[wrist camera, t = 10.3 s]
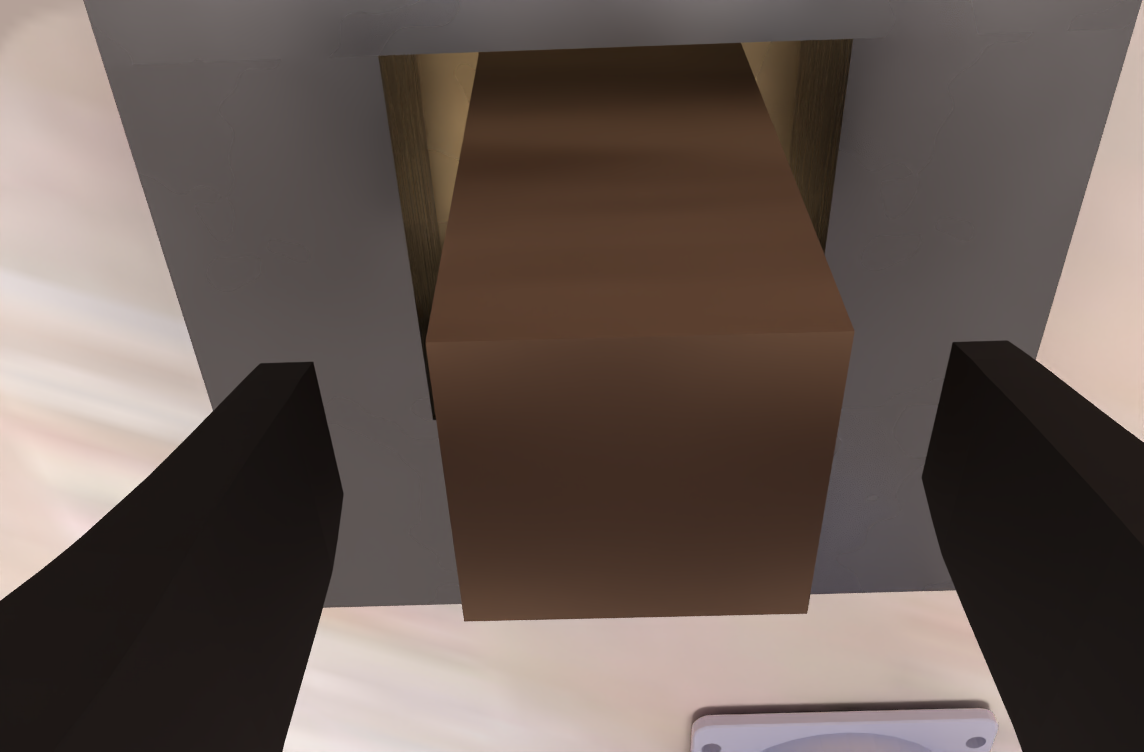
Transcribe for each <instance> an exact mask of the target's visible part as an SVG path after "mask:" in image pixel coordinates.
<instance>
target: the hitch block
mask: <svg viewBox="0 0 1144 752" xmlns="http://www.w3.org/2000/svg"><path fill="white" fill-rule="evenodd" d="M83 1H84V4H85V7H86V10H87V13H88V16H89V20H90V23H91V26H92V29H93V32H94V35H95V39H96V42H97V45H98V48H99V51H100V54H101V57H102V61H103V64H104V67H105V70H106V73H107V76H108V80H109V83H110V86H111V89H112V92H113V95H114V99H115V102H116V105H117V108H118V111H119V114H120V118H121V121H122V124H123V127H124V130H125V133H126V137H127V140H128V143H129V146H130V149H131V152H132V156H133V159H134V162H135V165H136V168H137V171H138V174H139V178H140V181H141V184H142V187H143V190H144V193H145V197H146V200H147V203H148V206H149V209H150V212H151V216H152V219H153V222H154V225H155V228H156V231H157V235H158V238H159V241H160V244H161V247H162V250H163V254H164V257H165V260H166V263H167V266H168V269H169V272H170V276H171V279H172V282H173V285H174V288H175V291H176V295H177V298H178V301H179V304H180V307H181V310H182V314H183V317H184V320H185V323H186V326H187V329H188V333H189V336H190V339H191V342H192V345H193V348H194V352H195V355H196V358H197V361H198V364H199V367H200V371H201V374H202V377H203V380H204V383H205V386H206V389H207V393H208V396H209V399H210V402H211V405H212V408H213V411H214V410H215V409H216V407H217V406H218V405H219V404H220V403H221V402H222V401H223V400H224V399H225V398H226V397H227V396H228V395H229V394H230V393H231V392H232V391H233V390H234V389H235V388H236V387H237V386H238V385H239V384H240V383H241V382H242V381H243V380H244V379H245V378H246V377H247V376H248V375H249V374H250V373H251V372H252V371H253V370H254V369H255V368H256V367H257V366H258V365H259V364H260V363H283V362H314V367H315V371H316V376H317V380H318V384H319V389H320V393H321V397H322V402H323V406H324V410H325V415H326V419H327V423H328V428H329V432H330V436H331V441H332V445H333V449H334V454H335V458H336V462H337V467H338V471H339V475H340V480H341V484H342V489H343V493H344V496H343V504H342V511H341V519H340V526H339V534H338V541H337V547H336V554H335V560H334V566H333V572H332V576H331V580H330V583H329V587H328V591H327V595H326V598H325V602H324V605H323V608H327V607H363V606H399V605H436V604H462V602H461V594H460V587H459V580H458V573H457V566H456V559H455V551H454V544H453V537H452V530H451V523H450V516H449V508H448V501H447V494H446V487H445V480H444V473H443V465H442V458H441V451H440V444H439V437H438V430H437V422H436V415H435V408H434V401H433V394H432V387H431V379H430V372H429V365H428V358H427V351H426V344H425V342H426V336H427V331H428V326H429V320H430V315H431V309H432V304H433V299H434V293H435V288H436V282H437V277H438V272H439V266H440V261H441V255H442V250H443V245H444V239H445V234H446V228H447V223H448V218H449V212H450V207H451V201H452V196H453V191H454V185H455V180H456V174H457V169H458V164H459V158H460V153H461V147H462V142H463V137H464V131H465V126H466V120H467V115H468V110H469V104H470V99H471V93H472V88H473V83H474V77H475V72H476V66H477V61H478V56H479V52H496V51H523V50H551V49H579V48H607V47H635V46H663V45H690V44H718V43H741V44H742V47H743V49H744V52H745V55H746V57H747V60H748V62H749V65H750V67H751V70H752V72H753V75H754V77H755V80H756V82H757V85H758V87H759V90H760V93H761V95H762V98H763V100H764V103H765V105H766V108H767V110H768V113H769V115H770V118H771V120H772V123H773V126H774V128H775V131H776V133H777V136H778V138H779V141H780V143H781V146H782V148H783V151H784V153H785V156H786V158H787V161H788V164H789V166H790V169H791V171H792V174H793V176H794V179H795V181H796V184H797V186H798V189H799V191H800V194H801V197H802V199H803V202H804V204H805V207H806V209H807V212H808V214H809V217H810V219H811V222H812V224H813V227H814V229H815V232H816V235H817V237H818V240H819V242H820V245H821V247H822V250H823V252H824V255H825V257H826V260H827V262H828V265H829V268H830V270H831V273H832V275H833V278H834V280H835V283H836V285H837V288H838V290H839V293H840V295H841V298H842V300H843V303H844V306H845V308H846V311H847V313H848V316H849V318H850V321H851V323H852V326H853V328H854V331H855V332H854V338H853V344H852V350H851V356H850V362H849V368H848V374H847V380H846V386H845V391H844V397H843V403H842V409H841V415H840V421H839V427H838V433H837V439H836V445H835V451H834V457H833V463H832V468H831V474H830V480H829V486H828V492H827V498H826V504H825V510H824V516H823V522H822V528H821V534H820V540H819V545H818V551H817V557H816V563H815V569H814V575H813V581H812V587H811V593H810V594H836V593H872V592H908V591H945V590H956V589H955V587H954V584H953V582H952V579H951V577H950V575H949V572H948V570H947V567H946V565H945V562H944V560H943V557H942V554H941V551H940V547H939V544H938V540H937V536H936V533H935V529H934V526H933V522H932V518H931V514H930V510H929V506H928V502H927V498H926V494H925V490H924V486H923V482H922V478H921V477H922V473H923V469H924V464H925V460H926V456H927V451H928V447H929V443H930V438H931V434H932V430H933V425H934V421H935V417H936V412H937V408H938V404H939V399H940V395H941V391H942V386H943V382H944V378H945V373H946V369H947V365H948V360H949V356H950V352H951V347H952V343H953V342H969V341H1002V340H1008V341H1009V342H1011V343H1012V344H1014V345H1015V346H1017V347H1018V348H1020V349H1021V350H1022V351H1024V352H1025V353H1027V354H1028V355H1029V356H1031V357H1032V358H1033V359H1035V360H1036V357H1037V353H1038V350H1039V346H1040V343H1041V340H1042V336H1043V333H1044V330H1045V326H1046V323H1047V319H1048V316H1049V313H1050V309H1051V306H1052V303H1053V299H1054V296H1055V292H1056V289H1057V286H1058V282H1059V279H1060V276H1061V272H1062V269H1063V265H1064V262H1065V259H1066V255H1067V252H1068V249H1069V245H1070V242H1071V238H1072V235H1073V232H1074V228H1075V225H1076V222H1077V218H1078V215H1079V211H1080V208H1081V205H1082V201H1083V198H1084V195H1085V191H1086V188H1087V184H1088V181H1089V178H1090V174H1091V171H1092V168H1093V164H1094V161H1095V157H1096V154H1097V151H1098V147H1099V144H1100V141H1101V137H1102V134H1103V130H1104V127H1105V124H1106V120H1107V117H1108V114H1109V110H1110V107H1111V103H1112V100H1113V97H1114V93H1115V90H1116V87H1117V83H1118V80H1119V76H1120V73H1121V70H1122V66H1123V63H1124V60H1125V56H1126V53H1127V49H1128V46H1129V43H1130V39H1131V36H1132V33H1133V29H1134V26H1135V22H1136V19H1137V16H1138V12H1139V9H1140V6H1141V2H1142V0H83Z"/></svg>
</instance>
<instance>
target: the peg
mask: <svg viewBox="0 0 1144 752" xmlns="http://www.w3.org/2000/svg"><path fill="white" fill-rule="evenodd" d="M854 332H855V331H854V328H853V326H852V323H851V321H850V318H849V316H848V313H847V311H846V308H845V306H844V303H843V300H842V298H841V295H840V293H839V290H838V288H837V285H836V283H835V280H834V278H833V275H832V273H831V270H830V268H829V265H828V262H827V260H826V257H825V255H824V252H823V250H822V247H821V245H820V242H819V240H818V237H817V235H816V232H815V229H814V227H813V224H812V222H811V219H810V217H809V214H808V212H807V209H806V207H805V204H804V202H803V199H802V197H801V194H800V191H799V189H798V186H797V184H796V181H795V179H794V176H793V174H792V171H791V169H790V166H789V164H788V161H787V158H786V156H785V153H784V151H783V148H782V146H781V143H780V141H779V138H778V136H777V133H776V131H775V128H774V126H773V123H772V120H771V118H770V115H769V113H768V110H767V108H766V105H765V103H764V100H763V98H762V95H761V93H760V90H759V87H758V85H757V82H756V80H755V77H754V75H753V72H752V70H751V67H750V65H749V62H748V60H747V57H746V55H745V52H744V49H743V47H742V44H741V43H718V44H690V45H663V46H635V47H607V48H579V49H551V50H523V51H496V52H479V56H478V61H477V66H476V72H475V77H474V83H473V88H472V93H471V99H470V104H469V110H468V115H467V120H466V126H465V131H464V137H463V142H462V147H461V153H460V158H459V164H458V169H457V174H456V180H455V185H454V191H453V196H452V201H451V207H450V212H449V218H448V223H447V228H446V234H445V239H444V245H443V250H442V255H441V261H440V266H439V272H438V277H437V282H436V288H435V293H434V299H433V304H432V309H431V315H430V320H429V326H428V331H427V336H426V342H425V344H426V351H427V358H428V365H429V372H430V379H431V387H432V394H433V401H434V408H435V415H436V422H437V430H438V437H439V444H440V451H441V458H442V465H443V473H444V480H445V487H446V494H447V501H448V508H449V516H450V523H451V530H452V537H453V544H454V551H455V559H456V566H457V573H458V580H459V587H460V594H461V602H462V609H463V616H464V621H502V620H546V619H590V618H633V617H677V616H721V615H764V614H807V611H808V605H809V599H810V593H811V587H812V581H813V575H814V569H815V563H816V557H817V551H818V545H819V540H820V534H821V528H822V522H823V516H824V510H825V504H826V498H827V492H828V486H829V480H830V474H831V468H832V463H833V457H834V451H835V445H836V439H837V433H838V427H839V421H840V415H841V409H842V403H843V397H844V391H845V386H846V380H847V374H848V368H849V362H850V356H851V350H852V344H853V338H854Z"/></svg>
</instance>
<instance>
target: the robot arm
mask: <svg viewBox="0 0 1144 752" xmlns="http://www.w3.org/2000/svg"><path fill="white" fill-rule="evenodd" d="M921 478H922V482H923V486H924V490H925V494H926V498H927V502H928V506H929V510H930V514H931V518H932V522H933V526H934V529H935V533H936V536H937V540H938V544H939V547H940V551H941V554H942V557H943V560H944V562H945V565H946V567H947V570H948V572H949V575H950V577H951V579H952V582H953V584H954V587H955V589H956V591H957V594H958V596H959V599H960V601H961V604H962V606H963V608H964V611H965V613H966V616H967V618H968V620H969V623H970V625H971V627H972V630H973V632H974V635H975V637H976V639H977V642H978V644H979V646H980V649H981V651H982V653H983V656H984V658H985V660H986V663H987V665H988V668H989V670H990V672H991V675H992V677H993V679H994V682H995V684H996V686H997V689H998V691H999V694H1000V696H1001V698H1002V701H1003V703H1004V705H1005V708H1006V710H1007V712H1008V715H1009V717H1010V720H1011V722H1012V724H1013V727H1014V729H1015V732H1016V735H1017V738H1018V740H1019V743H1020V746H1021V748H1022V751H1023V752H1144V442H1142V441H1141V440H1140V439H1138V438H1137V437H1135V436H1134V435H1133V434H1131V433H1130V432H1129V431H1127V430H1126V429H1125V428H1123V427H1122V426H1121V425H1119V424H1118V423H1117V422H1115V421H1114V420H1113V419H1112V418H1110V417H1109V416H1108V415H1106V414H1105V413H1104V412H1102V411H1101V410H1100V409H1098V408H1097V407H1096V406H1095V405H1093V404H1092V403H1091V402H1089V401H1088V400H1087V399H1085V398H1084V397H1083V396H1082V395H1080V394H1079V393H1078V392H1076V391H1075V390H1074V389H1072V388H1071V387H1070V386H1069V385H1067V384H1066V383H1065V382H1063V381H1062V380H1061V379H1060V378H1058V377H1057V376H1056V375H1054V374H1053V373H1052V372H1050V371H1049V370H1048V369H1047V368H1045V367H1044V366H1043V365H1041V364H1040V363H1039V362H1037V361H1036V360H1035V359H1033V358H1032V357H1031V356H1029V355H1028V354H1027V353H1025V352H1024V351H1022V350H1021V349H1020V348H1018V347H1017V346H1015V345H1014V344H1012V343H1011V342H1009V341H1008V340H1002V341H969V342H953V343H952V347H951V352H950V356H949V360H948V365H947V369H946V373H945V378H944V382H943V386H942V391H941V395H940V399H939V404H938V408H937V412H936V417H935V421H934V425H933V430H932V434H931V438H930V443H929V447H928V451H927V456H926V460H925V464H924V469H923V473H922V477H921ZM343 496H344V493H343V489H342V484H341V480H340V475H339V471H338V467H337V462H336V458H335V454H334V449H333V445H332V441H331V436H330V432H329V428H328V423H327V419H326V415H325V410H324V406H323V402H322V397H321V393H320V389H319V384H318V380H317V376H316V371H315V367H314V362H283V363H260V364H259V365H258V366H257V367H256V368H255V369H254V370H253V371H252V372H251V373H250V374H249V375H248V376H247V377H246V378H245V379H244V380H243V381H242V382H241V383H240V384H239V385H238V386H237V387H236V388H235V389H234V390H233V391H232V392H231V393H230V394H229V395H228V396H227V397H226V398H225V399H224V400H223V401H222V402H221V403H220V404H219V405H218V406H217V407H216V409H215V410H214V411H213V412H212V413H211V414H210V415H209V416H208V417H207V418H206V419H205V420H204V421H203V422H202V423H201V424H200V425H199V426H198V427H197V428H196V429H195V430H194V431H193V432H192V433H191V434H190V435H189V436H188V437H187V438H186V439H185V440H184V441H183V442H182V443H181V444H180V445H179V446H178V447H177V448H176V449H175V450H174V451H173V452H172V453H171V454H170V455H169V456H168V457H167V458H166V459H165V460H164V461H163V462H162V463H161V464H160V465H159V466H158V467H157V468H156V469H155V470H154V471H153V472H152V473H151V474H150V475H149V476H148V477H147V478H146V479H145V480H144V481H143V482H142V483H140V484H139V485H138V486H137V487H136V488H135V489H134V490H133V491H132V492H131V493H129V494H128V495H127V496H126V497H125V498H124V499H123V500H122V501H121V502H119V503H118V504H117V505H116V506H115V507H114V508H113V509H112V510H111V511H109V512H108V513H107V514H106V515H105V516H104V517H103V518H102V519H101V520H100V521H98V522H97V523H96V524H95V525H94V526H93V527H92V528H91V529H90V530H88V531H87V532H86V533H85V534H84V535H83V536H82V537H81V538H79V539H78V540H77V541H76V542H75V543H74V544H72V545H71V546H70V547H69V548H68V549H66V550H65V551H64V552H63V553H61V554H60V555H59V556H58V557H57V558H55V559H54V560H53V561H52V562H50V563H49V564H48V565H47V566H45V567H44V568H43V569H42V570H40V571H39V572H38V573H36V574H35V575H34V576H32V577H31V578H30V579H28V580H27V581H26V582H24V583H23V584H22V585H21V586H19V587H18V588H17V589H15V590H14V591H13V592H11V593H10V594H9V595H7V596H6V597H5V598H3V599H2V600H1V601H0V752H282V751H283V747H284V742H285V739H286V735H287V732H288V728H289V725H290V721H291V718H292V714H293V711H294V707H295V704H296V700H297V697H298V693H299V690H300V686H301V683H302V679H303V676H304V672H305V669H306V665H307V662H308V659H309V655H310V652H311V648H312V645H313V641H314V638H315V634H316V631H317V627H318V623H319V620H320V616H321V613H322V609H323V605H324V602H325V598H326V595H327V591H328V587H329V583H330V580H331V576H332V572H333V566H334V560H335V554H336V547H337V541H338V534H339V526H340V519H341V511H342V504H343ZM997 732H998V723H997V720H996V717H995V715H994V714H993V712H992V711H989V710H987V709H983V708H959V709H920V710H882V711H843V712H804V713H765V714H726V715H707V716H703V717H701V718H699V719H697V720H696V721H695V722H694V723H693V725H692V732H691V748H690V752H990V751H991V748H992V745H993V742H994V740H995V737H996V734H997Z"/></svg>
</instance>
